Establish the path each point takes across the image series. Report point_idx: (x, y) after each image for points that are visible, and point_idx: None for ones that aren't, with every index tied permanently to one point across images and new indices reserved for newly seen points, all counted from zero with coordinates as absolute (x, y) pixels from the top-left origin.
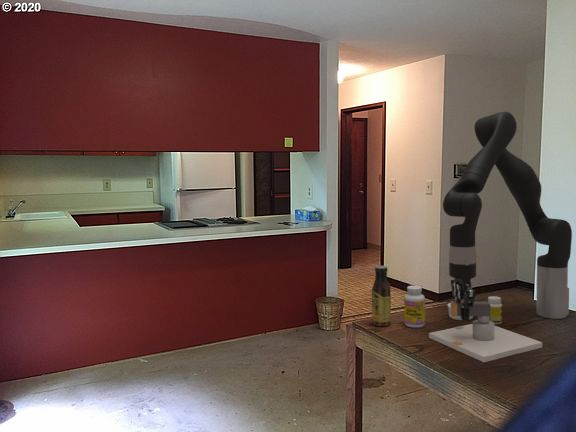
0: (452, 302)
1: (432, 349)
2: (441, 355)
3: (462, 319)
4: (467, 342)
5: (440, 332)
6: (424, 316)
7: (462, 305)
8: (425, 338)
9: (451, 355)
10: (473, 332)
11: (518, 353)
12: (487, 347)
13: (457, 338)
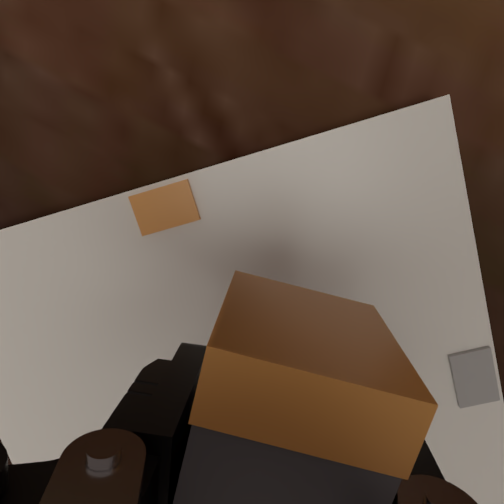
0: (349, 401)
1: (194, 20)
2: (74, 37)
3: (184, 346)
4: (171, 285)
5: (427, 195)
6: None
7: (59, 465)
8: (430, 65)
9: (66, 108)
10: None
11: None
12: (63, 357)
13: (262, 258)
